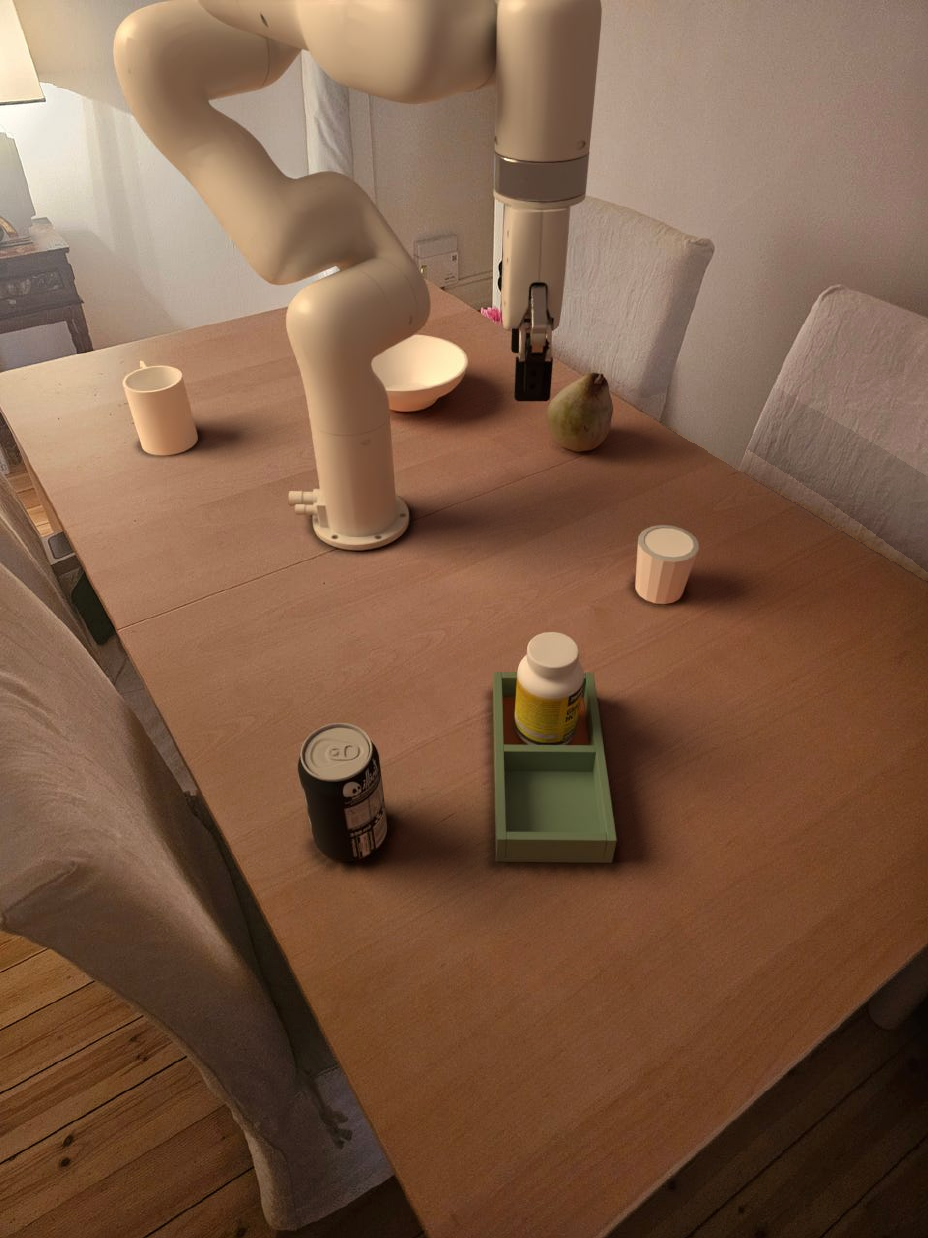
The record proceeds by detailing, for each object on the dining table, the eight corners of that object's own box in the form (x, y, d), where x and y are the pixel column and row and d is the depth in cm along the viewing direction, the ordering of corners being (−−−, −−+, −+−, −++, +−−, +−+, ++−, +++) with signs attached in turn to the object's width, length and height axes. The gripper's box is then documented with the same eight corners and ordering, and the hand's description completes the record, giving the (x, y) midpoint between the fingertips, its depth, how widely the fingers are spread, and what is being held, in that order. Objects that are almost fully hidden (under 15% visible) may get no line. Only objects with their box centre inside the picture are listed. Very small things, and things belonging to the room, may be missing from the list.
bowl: (490, 391, 134) (491, 351, 130) (423, 444, 122) (421, 402, 118) (394, 363, 142) (391, 324, 137) (321, 410, 130) (316, 369, 125)
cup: (182, 411, 130) (166, 351, 123) (204, 446, 122) (189, 383, 115) (129, 424, 127) (110, 363, 120) (149, 460, 119) (129, 397, 112)
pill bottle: (573, 757, 79) (584, 678, 71) (509, 747, 80) (513, 668, 72) (579, 709, 83) (590, 630, 76) (519, 700, 84) (524, 621, 77)
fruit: (600, 467, 118) (610, 389, 110) (536, 455, 120) (541, 379, 112) (614, 432, 125) (624, 357, 117) (553, 422, 127) (560, 348, 119)
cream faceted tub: (691, 576, 100) (702, 530, 95) (683, 613, 95) (695, 566, 90) (635, 565, 101) (643, 519, 97) (624, 600, 97) (632, 553, 92)
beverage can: (316, 805, 76) (297, 721, 68) (387, 800, 76) (377, 716, 68) (312, 869, 71) (292, 787, 63) (388, 863, 71) (378, 781, 63)
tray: (495, 862, 71) (496, 839, 69) (493, 695, 86) (493, 671, 83) (611, 863, 71) (617, 840, 69) (589, 696, 86) (593, 672, 83)
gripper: (492, 147, 72) (489, 335, 84) (495, 209, 60) (490, 420, 71) (577, 147, 72) (562, 335, 84) (598, 209, 60) (577, 421, 71)
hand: (529, 374), depth 78 cm, fingers open, 9 cm apart
